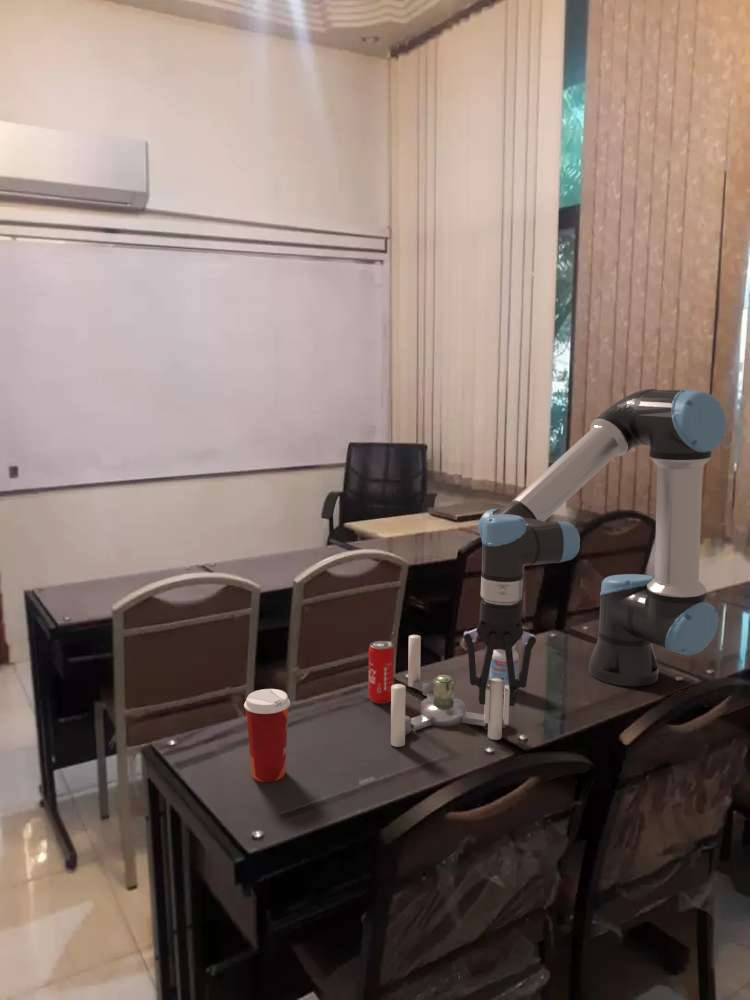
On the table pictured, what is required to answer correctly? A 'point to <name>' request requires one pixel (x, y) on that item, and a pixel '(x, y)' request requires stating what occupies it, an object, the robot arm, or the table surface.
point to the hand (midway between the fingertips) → (495, 720)
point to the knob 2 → (496, 709)
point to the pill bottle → (503, 665)
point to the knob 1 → (399, 716)
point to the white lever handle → (417, 667)
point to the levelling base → (444, 715)
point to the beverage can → (381, 671)
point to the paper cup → (267, 733)
